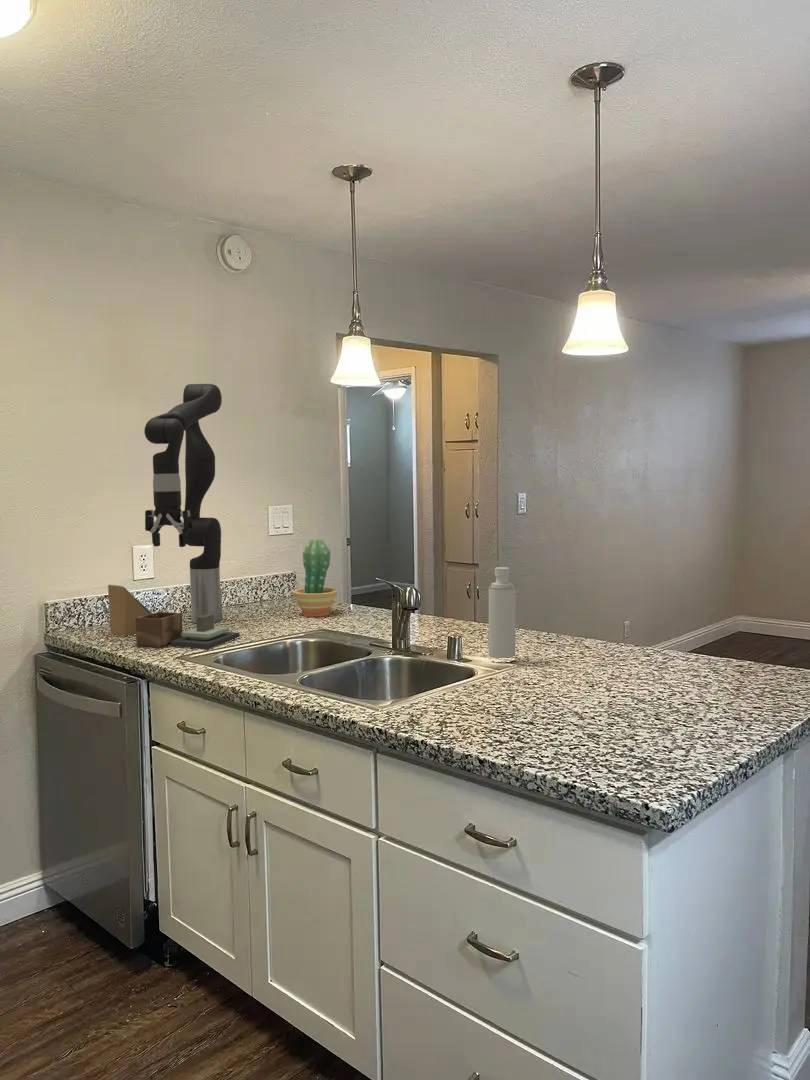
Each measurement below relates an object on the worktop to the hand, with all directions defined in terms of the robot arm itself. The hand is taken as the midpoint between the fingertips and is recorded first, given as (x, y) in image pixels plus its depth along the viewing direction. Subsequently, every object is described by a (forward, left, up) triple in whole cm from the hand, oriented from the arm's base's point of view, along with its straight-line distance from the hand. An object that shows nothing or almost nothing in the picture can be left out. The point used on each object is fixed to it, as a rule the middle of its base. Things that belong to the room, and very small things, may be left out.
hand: (169, 546), depth 233 cm
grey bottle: (-4, +96, -27) cm, 100 cm away
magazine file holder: (-6, -16, -27) cm, 32 cm away
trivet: (+1, +12, -27) cm, 29 cm away
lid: (+2, +12, -24) cm, 27 cm away
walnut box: (+7, +1, -27) cm, 28 cm away
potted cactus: (-48, +22, -27) cm, 59 cm away
